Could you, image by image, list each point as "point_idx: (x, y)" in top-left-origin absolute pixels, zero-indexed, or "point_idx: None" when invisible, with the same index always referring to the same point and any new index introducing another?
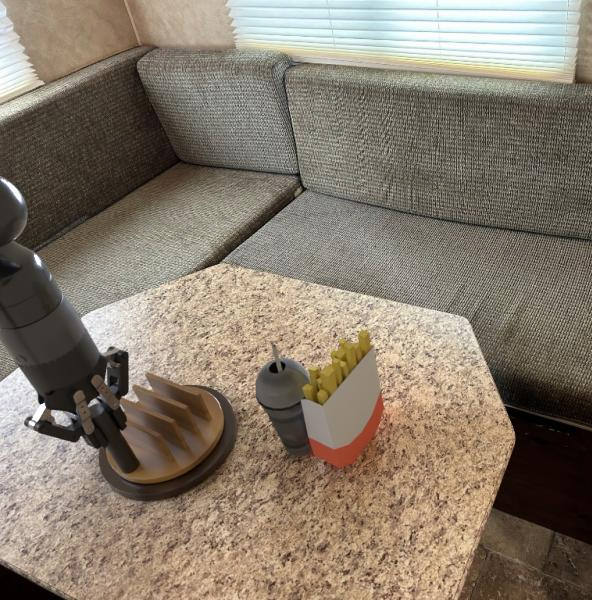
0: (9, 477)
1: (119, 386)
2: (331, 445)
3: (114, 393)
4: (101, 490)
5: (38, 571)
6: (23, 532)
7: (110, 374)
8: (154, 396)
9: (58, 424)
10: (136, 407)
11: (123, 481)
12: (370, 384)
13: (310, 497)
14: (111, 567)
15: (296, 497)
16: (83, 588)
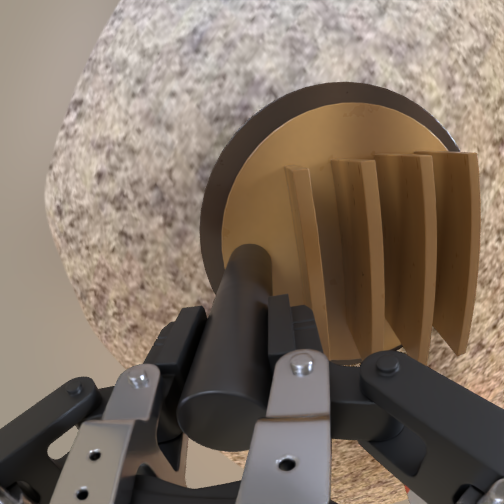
0: (103, 36)
1: (382, 462)
2: (409, 497)
3: (347, 435)
4: (189, 209)
5: (63, 260)
6: (67, 173)
7: (429, 452)
8: (425, 265)
9: (57, 430)
10: (371, 253)
11: (222, 258)
12: None
13: (360, 448)
14: (137, 345)
15: (354, 441)
16: (100, 335)
